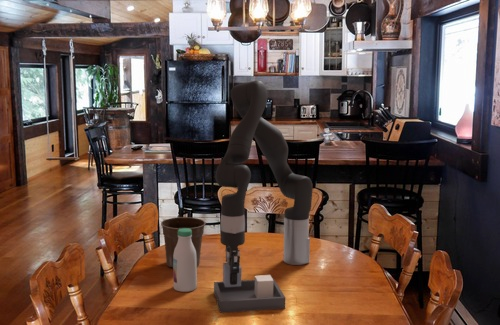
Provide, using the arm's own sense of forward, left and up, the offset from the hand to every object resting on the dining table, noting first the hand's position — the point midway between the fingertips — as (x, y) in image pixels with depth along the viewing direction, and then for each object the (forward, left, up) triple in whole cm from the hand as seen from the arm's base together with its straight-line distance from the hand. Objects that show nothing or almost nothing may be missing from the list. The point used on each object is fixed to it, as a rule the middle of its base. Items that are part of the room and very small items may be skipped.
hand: (232, 280), depth 179 cm
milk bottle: (+14, -13, -7) cm, 20 cm away
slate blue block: (0, 0, -1) cm, 1 cm away
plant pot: (+13, -36, -7) cm, 39 cm away
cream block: (-10, 0, -6) cm, 12 cm away
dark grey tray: (-5, 0, -7) cm, 8 cm away
